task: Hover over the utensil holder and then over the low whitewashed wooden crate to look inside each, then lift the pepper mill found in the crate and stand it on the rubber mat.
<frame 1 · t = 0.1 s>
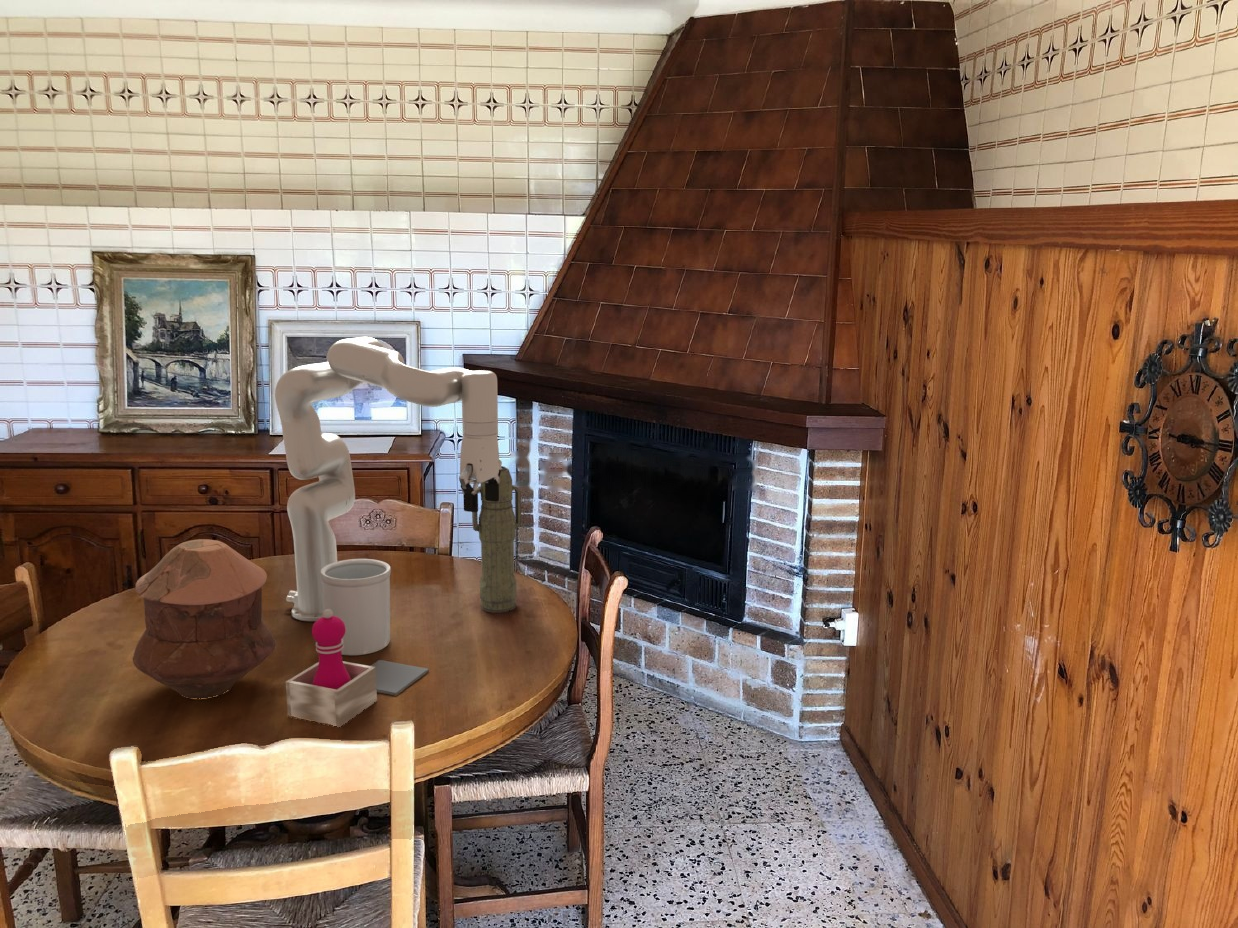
hand: (481, 505, 206), 31 cm above the table, tool pointing down, fingers open, 9 cm apart
pepper mill: (333, 709, 180), resting in crate
crate: (333, 708, 180), on the table
thermos: (498, 606, 234), on the table
utensil holder: (359, 644, 210), on the table
mat: (387, 678, 193), on the table
pottery vessel: (209, 689, 188), on the table
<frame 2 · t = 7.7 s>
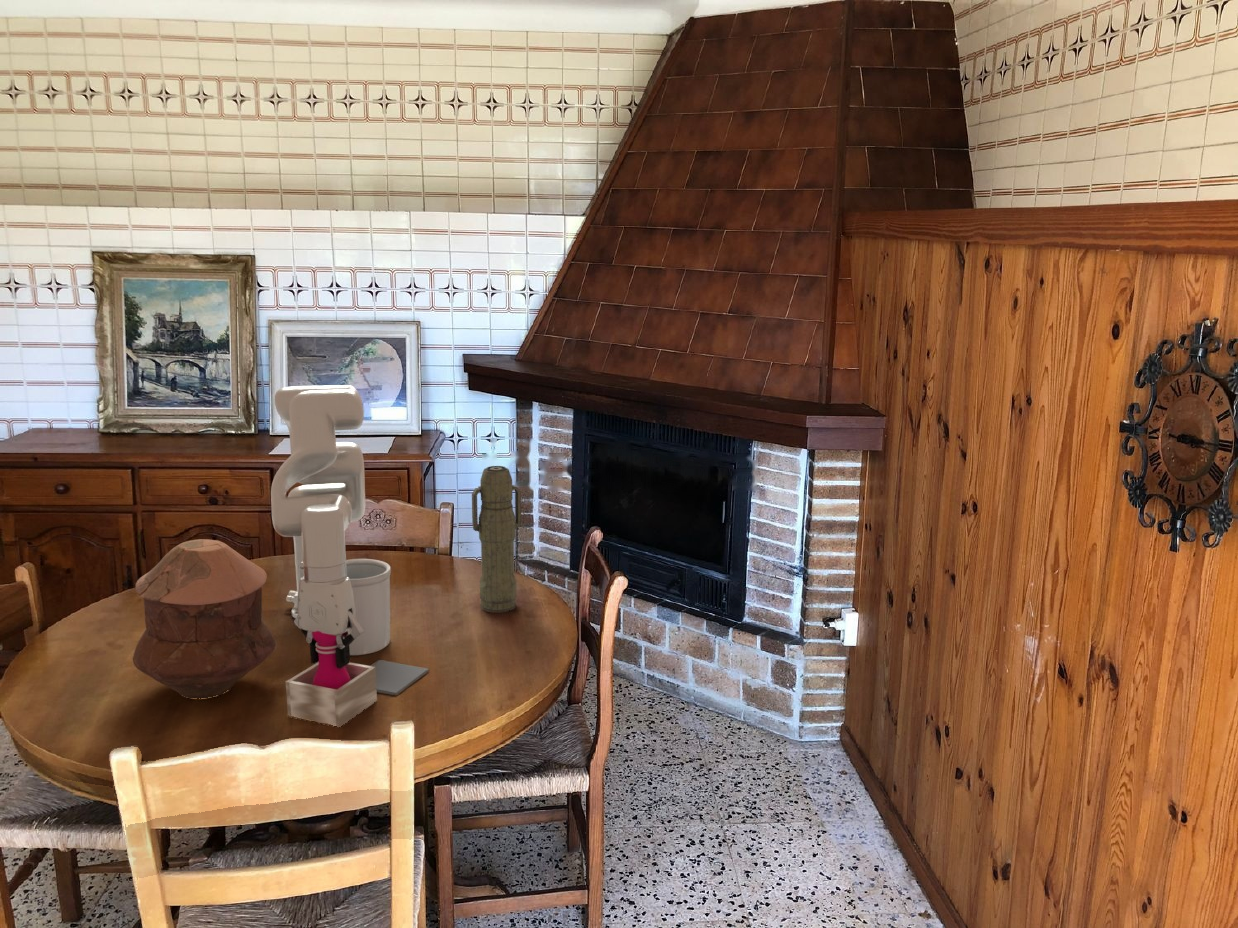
hand: (330, 662, 178), 9 cm above the table, tool pointing down, fingers closed on pepper mill, 5 cm apart
pepper mill: (333, 709, 180), resting in crate, touching gripper
everything else where it was.
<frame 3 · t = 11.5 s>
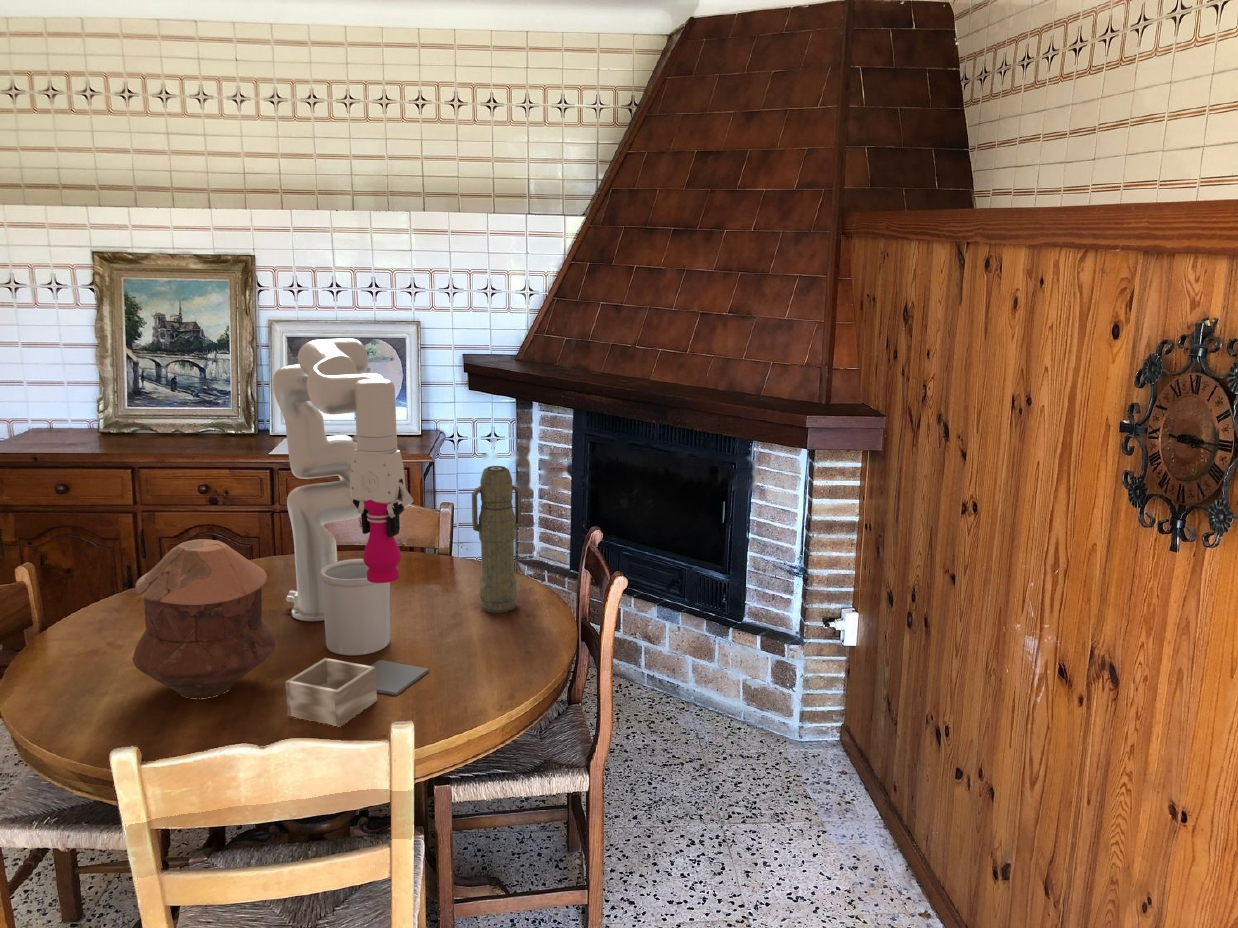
hand: (380, 532, 186), 31 cm above the table, tool pointing down, fingers closed on pepper mill, 5 cm apart
pepper mill: (383, 579, 189), point 21 cm above the table, touching gripper
everything else where it was.
when the fingers open (11 cm above the table, at t = 15.5 s): pepper mill drops 1 cm, resting on mat.
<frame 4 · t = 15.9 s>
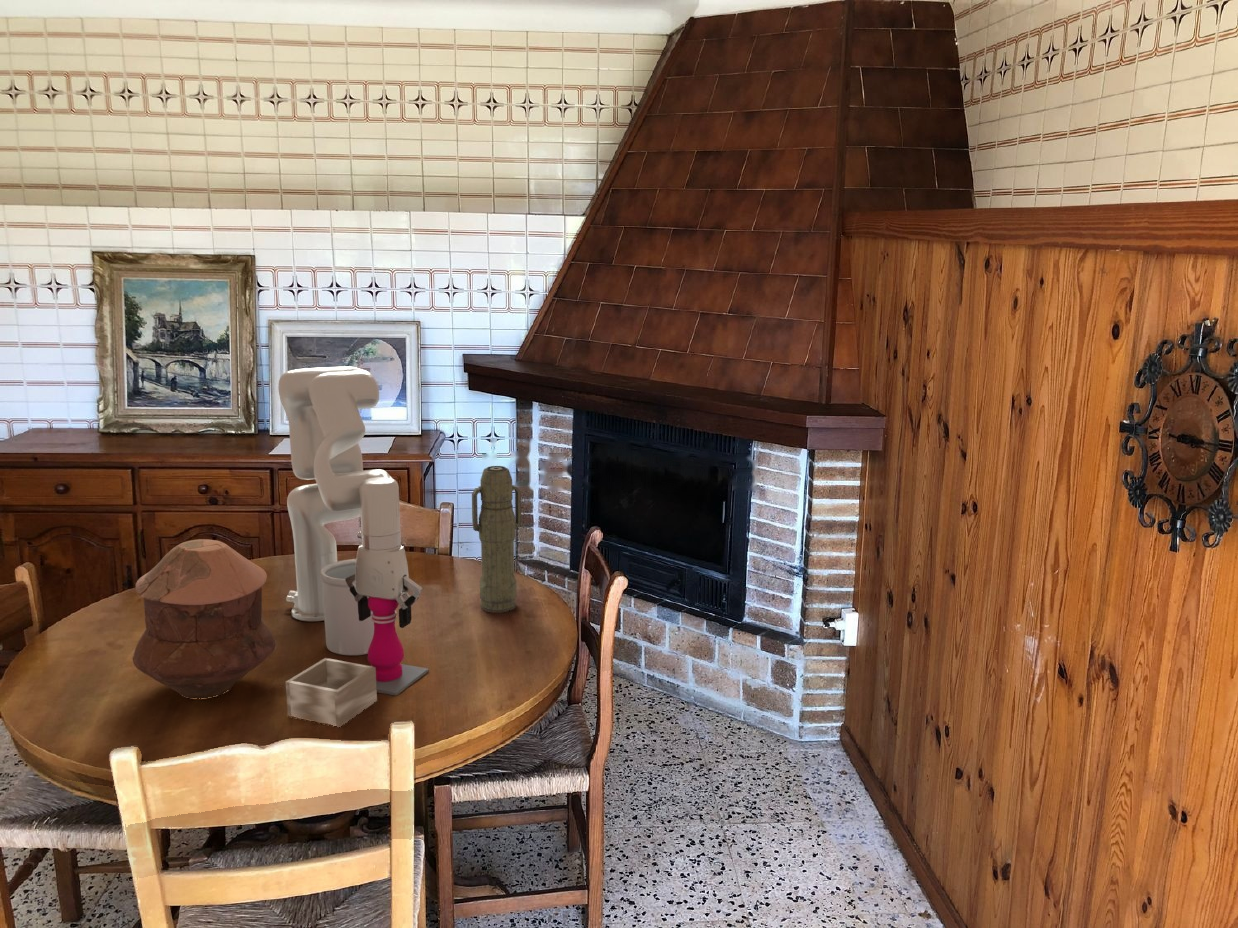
hand: (384, 621, 190), 12 cm above the table, tool pointing down, fingers open, 9 cm apart
pepper mill: (386, 676, 193), resting on mat
everything else where it was.
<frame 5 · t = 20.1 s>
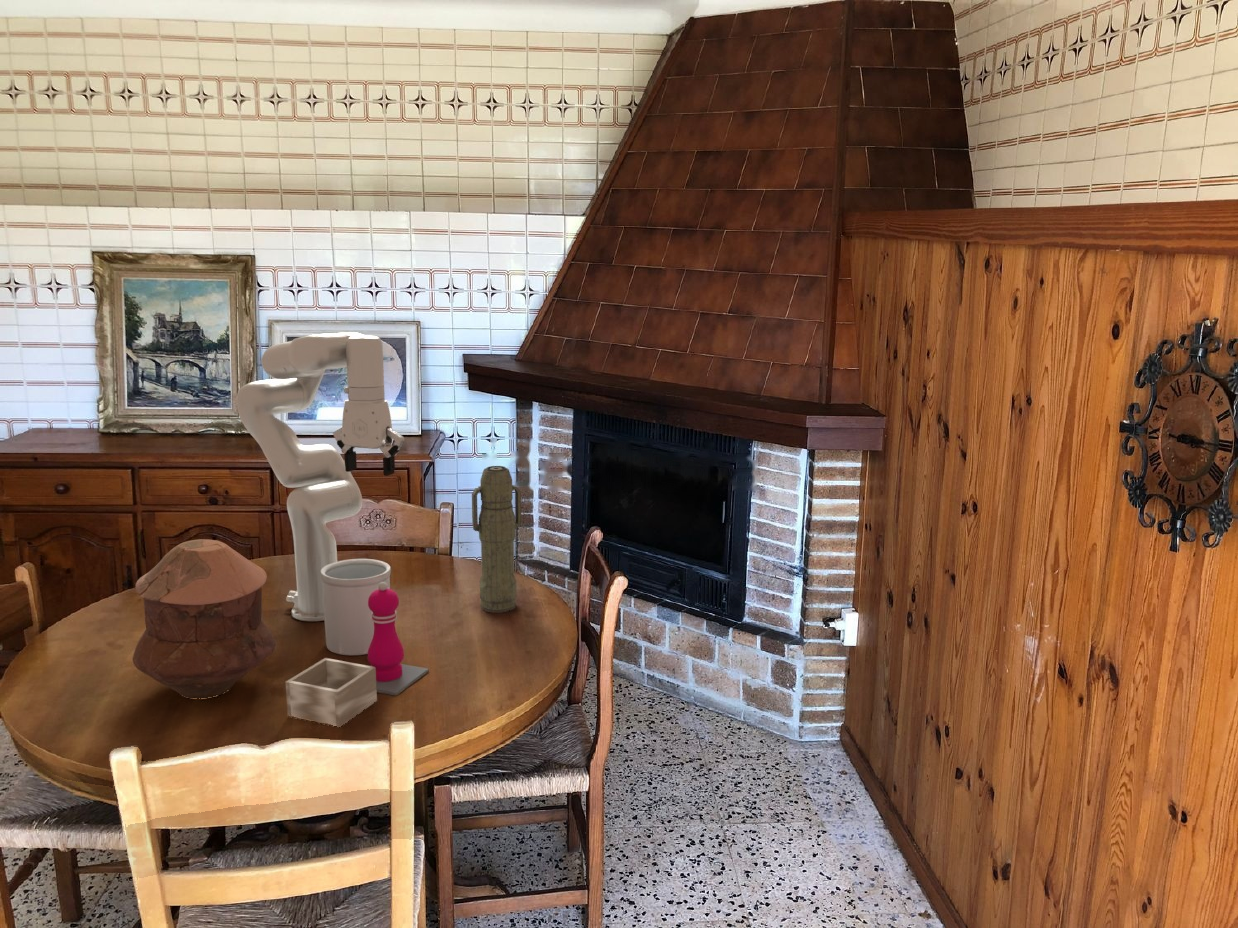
hand: (370, 472, 205), 38 cm above the table, tool pointing down, fingers open, 9 cm apart
nothing on the table moved.
at the end: pepper mill inside the target area on the mat (0.2 cm from its centre), point 0.4 cm above the mat's base; pepper mill tilted 0°; the gripper is holding nothing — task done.
